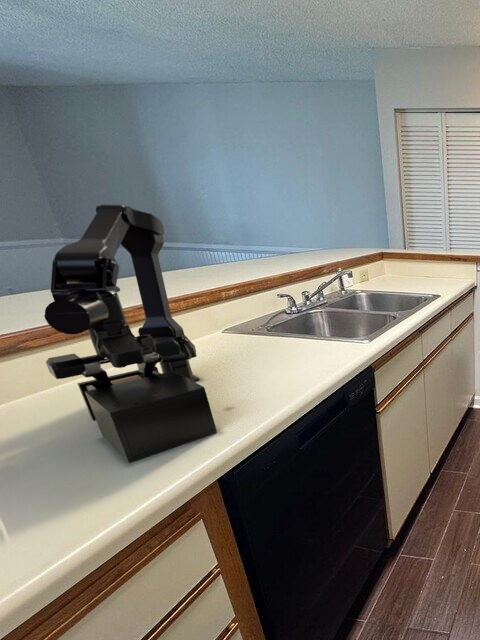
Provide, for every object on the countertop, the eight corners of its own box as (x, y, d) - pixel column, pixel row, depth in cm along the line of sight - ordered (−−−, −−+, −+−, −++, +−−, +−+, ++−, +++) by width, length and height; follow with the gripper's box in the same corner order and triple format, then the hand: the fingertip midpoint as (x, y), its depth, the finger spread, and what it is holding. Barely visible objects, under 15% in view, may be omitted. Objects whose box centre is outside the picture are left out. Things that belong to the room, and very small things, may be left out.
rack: (90, 417, 85) (75, 381, 82) (163, 397, 95) (153, 364, 92) (113, 439, 77) (97, 400, 74) (190, 415, 87) (180, 380, 84)
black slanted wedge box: (103, 437, 80) (84, 391, 76) (186, 412, 90) (173, 370, 86) (129, 463, 72) (109, 413, 68) (217, 432, 82) (204, 387, 79)
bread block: (116, 402, 85) (109, 381, 83) (144, 394, 88) (137, 374, 86) (124, 407, 82) (116, 386, 80) (152, 400, 86) (145, 379, 84)
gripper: (44, 339, 67) (81, 425, 73) (181, 317, 82) (202, 391, 88) (30, 327, 73) (64, 408, 79) (159, 309, 87) (181, 379, 93)
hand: (132, 396), depth 85 cm, fingers closed on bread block, 4 cm apart
